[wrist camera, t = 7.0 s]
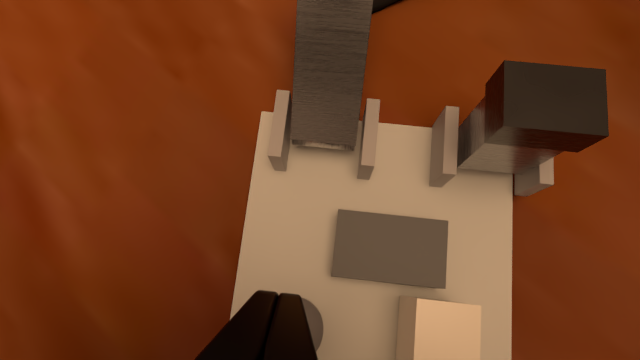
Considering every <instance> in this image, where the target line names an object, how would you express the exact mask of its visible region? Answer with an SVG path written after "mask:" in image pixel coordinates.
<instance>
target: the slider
mask: <svg viewBox="0 0 640 360" xmlns="http://www.w3.org/2000/svg"><path fill="white" fill-rule="evenodd" d="M480 344H481V306H480V305H473V304H466V303H459V302H452V301H444V300H435V299H427V298H418V297H409V296H400V300H399V315H398V330H397V345H396V360H480Z"/></svg>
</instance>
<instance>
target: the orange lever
mask: <svg viewBox="0 0 640 360" xmlns="http://www.w3.org/2000/svg"><path fill="white" fill-rule="evenodd" d="M372 5H373V0H297V17H296V38H295V59H294V79H293V100H292V121H291V139H292V145H300V146H310V147H320V148H330V149H340V150H350V151H355V146H356V140H357V131H358V123H359V114H360V106H361V97H362V89H363V81H364V72H365V64H366V55H367V47H368V38H369V30H370V22H371V13H372Z"/></svg>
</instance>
